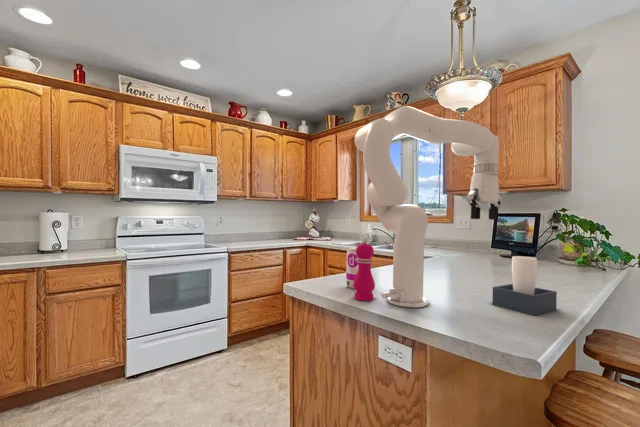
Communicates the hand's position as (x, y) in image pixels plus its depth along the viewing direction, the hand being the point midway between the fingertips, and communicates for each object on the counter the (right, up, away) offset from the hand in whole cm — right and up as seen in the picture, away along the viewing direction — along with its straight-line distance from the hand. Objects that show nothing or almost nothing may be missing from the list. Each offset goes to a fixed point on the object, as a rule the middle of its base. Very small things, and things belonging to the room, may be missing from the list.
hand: (484, 219), depth 111 cm
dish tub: (+6, -28, -12) cm, 30 cm away
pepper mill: (-43, -27, -5) cm, 51 cm away
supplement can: (-44, -27, +12) cm, 53 cm away
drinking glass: (+6, -27, -12) cm, 30 cm away
